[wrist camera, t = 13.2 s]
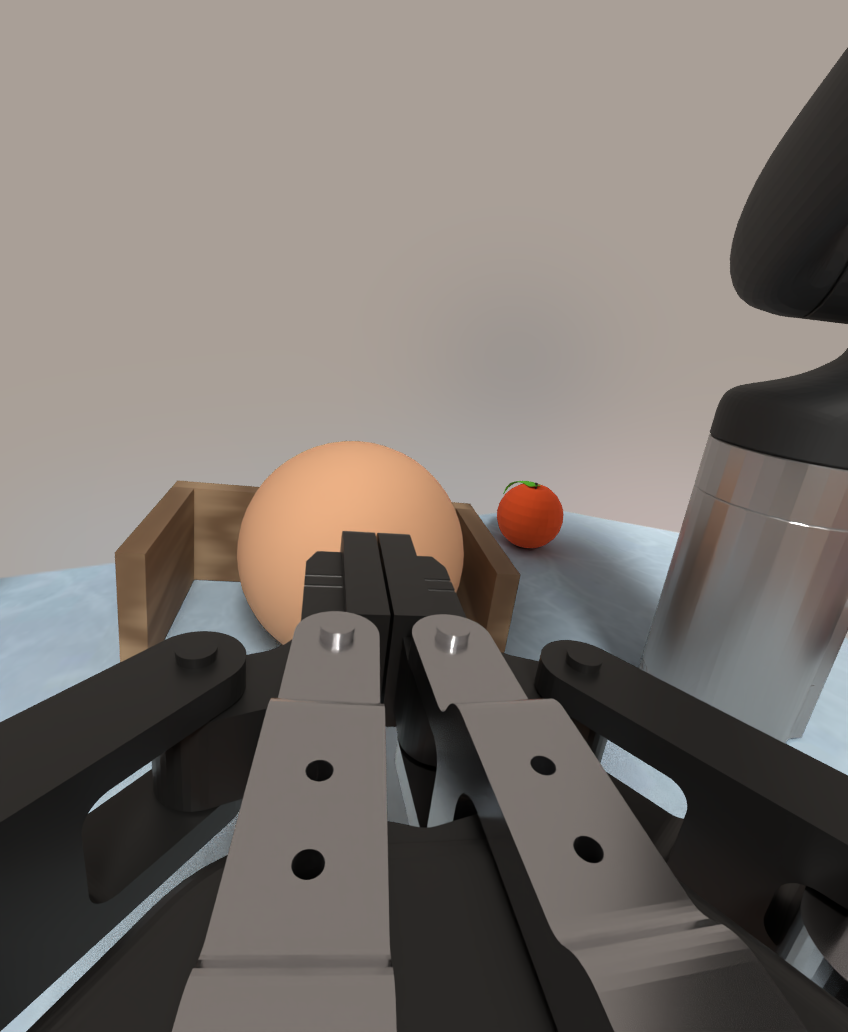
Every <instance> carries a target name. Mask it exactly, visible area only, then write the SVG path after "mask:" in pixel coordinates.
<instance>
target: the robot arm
mask: <svg viewBox="0 0 848 1032" xmlns="http://www.w3.org/2000/svg"><path fill="white" fill-rule="evenodd" d="M730 274H731V278H732V283H733V286H734V288H735V290H736V292H737V294H738V295H739V297H740V298H741V299H742V300H744V301H745V302H746V303H747V304H748V305H750V306H752V307H754V308H757V309H760V310H763V311H766V312H769V313H772V314H776V315H779V316H785V317H794V318H802V319H811V320H820V321H827V322H835V323H844V324H848V48H847V49H846V50H845V52H844V53H843V55H842V56H841V57H840V59H839V60H838V61H837V63H836V64H835V65H834V67H833V68H832V69H831V71H830V72H829V74H828V75H827V76H826V78H825V79H824V80H823V82H822V83H821V85H820V86H819V87H818V89H817V90H816V91H815V93H814V94H813V96H812V97H811V98H810V100H809V101H808V102H807V104H806V105H805V106H804V108H803V109H802V111H801V112H800V113H799V115H798V116H797V118H796V119H795V121H794V122H793V124H792V125H791V126H790V128H789V129H788V131H787V132H786V134H785V135H784V137H783V138H782V140H781V141H780V142H779V144H778V145H777V147H776V149H775V150H774V151H773V153H772V155H771V156H770V158H769V160H768V161H767V163H766V165H765V167H764V169H763V170H762V172H761V174H760V175H759V177H758V179H757V181H756V183H755V185H754V187H753V189H752V191H751V193H750V195H749V197H748V199H747V202H746V204H745V206H744V209H743V211H742V214H741V217H740V219H739V221H738V224H737V228H736V231H735V234H734V238H733V242H732V248H731V255H730ZM710 433H711V434H710V435H709V437H708V441H707V444H706V447H705V451H704V454H703V457H702V461H701V464H700V467H699V471H698V474H697V477H696V480H695V485H694V488H693V491H692V494H691V497H690V501H689V504H688V507H687V511H686V514H685V517H684V520H683V524H682V527H681V531H680V534H679V537H678V540H677V543H676V547H675V550H674V553H673V557H672V560H671V563H670V566H669V570H668V573H667V576H666V580H665V583H664V586H663V589H662V593H661V596H660V599H659V603H658V606H657V609H656V613H655V616H654V619H653V622H652V626H651V629H650V632H649V635H648V639H647V642H646V645H645V649H644V652H643V655H642V659H641V662H640V665H639V668H637V667H635V666H633V665H631V664H629V663H627V662H625V661H623V660H621V659H620V658H618V657H616V656H614V655H612V654H610V653H608V652H606V651H604V650H602V649H600V648H598V647H595V646H593V645H590V644H587V643H583V642H579V641H572V640H559V641H554V642H551V643H549V644H547V645H546V646H544V647H543V649H542V651H541V655H540V659H539V661H534V660H530V659H525V658H520V657H516V656H512V655H508V654H505V653H502V652H500V650H499V649H498V647H497V645H496V644H495V642H494V640H493V639H492V637H491V635H490V634H489V632H488V631H487V630H486V629H485V628H484V627H482V626H481V625H480V624H478V623H476V622H474V621H472V620H470V619H467V618H466V616H465V613H464V611H463V608H462V606H461V604H460V601H459V599H458V596H457V594H456V592H455V589H454V587H453V584H452V582H450V580H451V579H450V577H449V575H448V572H447V570H446V567H444V566H443V565H442V564H441V563H439V562H438V561H437V560H436V559H434V558H433V557H432V556H417V554H416V551H415V548H414V545H413V542H412V539H411V536H410V534H393V533H377V535H376V534H375V533H374V532H356V531H342V536H341V547H340V552H327V551H317V552H316V553H314V554H313V555H312V556H311V557H310V558H309V559H308V560H307V561H306V569H305V580H304V591H303V602H302V613H301V622H299V624H298V625H297V626H296V628H295V631H294V635H293V639H291V640H290V641H289V642H287V643H286V644H284V645H282V646H280V647H278V648H275V649H272V650H269V651H265V652H260V653H255V654H249V655H246V650H245V648H244V646H243V645H242V643H241V642H239V641H238V640H237V639H235V638H234V637H231V636H229V635H226V634H223V633H218V632H208V631H200V632H190V633H185V634H180V635H177V636H174V637H171V638H169V639H166V640H164V641H162V642H160V643H158V644H156V645H154V646H152V647H150V648H148V649H146V650H144V651H142V652H140V653H138V654H136V655H134V656H132V657H130V658H128V659H126V660H124V661H122V662H120V663H118V664H116V665H114V666H112V667H110V668H108V669H106V670H104V671H102V672H100V673H98V674H96V675H94V676H92V677H90V678H88V679H86V680H84V681H82V682H80V683H78V684H76V685H74V686H72V687H70V688H68V689H66V690H64V691H62V692H60V693H58V694H56V695H54V696H52V697H50V698H48V699H46V700H44V701H42V702H40V703H38V704H36V705H34V706H32V707H30V708H28V709H26V710H24V711H22V712H20V713H18V714H16V715H14V716H12V717H10V718H8V719H6V720H4V721H2V722H0V1031H1V1030H2V1029H4V1028H5V1027H6V1026H7V1025H8V1024H9V1023H10V1022H11V1021H12V1020H13V1019H14V1018H16V1017H17V1016H18V1015H19V1014H20V1013H21V1012H22V1011H23V1010H24V1009H25V1008H27V1007H28V1006H29V1005H30V1004H31V1003H32V1002H33V1001H34V1000H35V999H36V998H38V997H39V996H40V995H41V994H42V993H43V992H44V991H45V990H46V989H47V988H48V987H50V986H51V985H52V984H53V983H54V982H55V981H56V980H57V979H58V978H59V977H61V976H62V975H63V974H64V973H65V972H66V971H67V970H68V969H69V968H70V967H71V966H73V965H74V964H75V963H76V962H77V961H78V960H79V959H80V958H81V957H82V956H84V955H85V954H86V953H87V952H88V951H89V950H90V949H91V948H92V947H93V946H95V945H96V944H97V943H98V942H99V941H100V940H101V939H102V938H103V937H104V936H105V935H107V934H108V933H109V932H110V931H111V930H112V929H113V928H114V927H115V926H116V925H118V924H119V923H120V922H121V921H122V920H123V919H124V918H125V917H126V916H127V915H129V914H130V913H131V912H132V911H133V910H134V909H135V908H136V907H137V906H138V905H139V904H141V903H142V902H143V901H144V900H145V899H146V898H147V897H148V896H149V895H150V894H152V893H153V892H154V891H155V890H156V889H157V888H158V887H159V886H160V885H161V884H163V883H164V882H165V881H166V880H167V879H168V878H169V877H170V876H171V875H172V874H173V873H175V872H176V871H177V870H178V869H179V868H180V867H181V866H182V865H183V864H184V863H186V862H187V861H188V860H189V859H190V858H191V857H192V856H193V855H194V854H195V853H196V852H198V851H199V850H200V849H201V848H202V847H203V846H204V845H205V844H206V843H207V842H209V841H210V840H211V839H212V838H213V837H214V836H215V835H216V834H217V833H218V832H220V831H221V830H222V829H223V828H224V827H225V826H226V825H227V824H228V823H229V822H230V821H231V820H232V819H233V818H234V817H235V816H236V815H237V813H238V812H239V810H240V812H239V815H238V819H237V823H236V827H235V830H234V834H233V838H232V842H231V845H230V849H229V853H228V855H227V856H224V857H222V858H220V859H219V860H217V861H215V862H213V863H211V864H209V865H207V866H205V867H203V868H202V869H200V870H199V871H197V872H196V873H194V874H193V875H191V876H190V877H188V878H187V879H185V880H184V881H182V882H181V883H180V884H179V885H177V886H176V887H175V888H174V889H172V890H171V891H170V892H169V893H167V894H166V895H165V896H164V897H163V898H162V899H161V900H160V901H158V902H157V903H156V904H155V905H154V906H153V907H152V908H151V909H150V910H149V911H148V912H147V913H146V914H145V915H144V916H143V917H142V918H141V919H140V920H139V921H138V922H137V923H136V924H135V925H134V926H133V927H132V928H131V929H130V930H129V931H128V932H127V933H126V934H125V935H124V936H123V937H122V938H121V939H120V940H119V941H118V942H117V943H116V944H115V945H114V946H113V947H112V948H110V949H109V950H108V951H107V952H106V953H105V954H104V955H103V956H102V957H101V958H100V959H99V960H98V961H97V962H96V963H95V964H94V965H93V966H92V967H91V968H90V969H89V970H88V971H87V972H86V973H85V974H84V975H83V976H82V977H81V978H80V979H79V980H78V981H77V982H76V983H75V984H74V985H73V986H72V987H71V988H70V989H69V990H68V991H67V992H66V993H65V994H64V995H63V996H62V997H61V998H60V999H59V1000H58V1001H57V1002H56V1003H55V1004H54V1005H53V1006H52V1007H51V1008H50V1009H49V1010H48V1011H47V1012H46V1013H45V1014H44V1015H43V1016H42V1017H41V1018H40V1019H39V1020H37V1021H36V1022H35V1023H34V1024H33V1025H32V1026H31V1027H30V1028H29V1029H28V1030H27V1031H26V1032H848V775H846V774H844V773H842V772H840V771H838V770H836V769H834V768H832V767H830V766H828V765H826V764H824V763H822V762H820V761H818V760H816V759H814V758H812V757H811V756H809V755H807V754H805V753H803V752H801V751H799V750H797V749H795V748H793V747H791V746H789V745H787V744H786V742H787V741H788V739H791V738H802V735H803V733H804V731H805V728H806V726H807V724H808V721H809V719H810V717H811V714H812V712H813V710H814V707H815V705H816V703H817V701H818V698H819V696H820V694H821V691H822V689H823V687H824V684H825V682H826V680H827V677H828V675H829V673H830V671H831V668H832V666H833V664H834V661H835V659H836V657H837V654H838V652H839V650H840V647H841V645H842V643H843V640H844V638H845V636H846V634H847V631H848V348H847V350H846V351H845V352H844V353H843V354H842V355H841V356H840V357H838V358H837V359H835V360H833V361H832V362H830V363H827V364H825V365H823V366H821V367H819V368H816V369H814V370H811V371H808V372H805V373H802V374H799V375H795V376H791V377H787V378H782V379H777V380H771V381H764V382H758V383H751V384H745V385H740V386H737V387H734V388H732V389H730V390H728V391H727V392H726V393H725V394H724V395H723V397H722V399H721V400H720V402H719V405H718V407H717V410H716V413H715V417H714V420H713V423H712V427H711V430H710ZM385 727H397V733H398V738H397V745H396V753H395V765H396V770H397V774H398V778H399V783H400V787H401V791H402V796H403V800H404V804H405V808H406V813H407V817H408V821H409V825H405V824H400V823H395V822H389V821H387V786H386V735H385ZM607 739H608V740H609V741H611V742H613V743H614V744H616V745H618V746H619V747H621V748H622V749H624V750H626V751H627V752H629V753H631V754H632V755H634V756H635V757H637V758H639V759H640V760H642V761H644V762H645V763H647V764H648V765H650V766H652V767H653V768H655V769H657V770H658V771H660V772H661V773H663V774H665V775H666V776H668V777H669V778H671V779H672V780H673V781H674V782H675V783H676V784H677V785H678V786H679V787H680V788H681V790H682V791H683V793H684V795H685V797H686V800H687V812H686V815H685V818H684V819H682V818H678V817H675V816H673V815H671V814H670V813H668V812H667V811H665V810H664V809H662V808H661V807H659V806H658V805H656V804H654V803H653V802H651V801H650V800H648V799H647V798H645V797H644V796H642V795H641V794H639V793H638V792H636V791H635V790H633V789H632V788H630V787H628V786H627V785H625V784H624V783H622V782H621V781H619V780H618V779H616V778H615V777H613V776H612V775H610V774H609V773H607V772H606V771H605V770H604V769H603V767H602V766H601V764H600V763H601V759H602V756H603V753H604V749H605V746H606V743H607ZM151 761H152V769H151V770H150V771H148V772H147V773H145V774H144V775H143V776H141V777H140V778H138V779H137V780H136V781H134V782H133V783H131V784H130V785H128V786H127V787H126V788H124V789H123V790H121V791H120V792H119V793H117V794H116V795H114V796H113V797H111V798H110V799H109V800H107V801H106V802H104V803H103V804H101V805H100V806H99V807H97V808H96V809H94V810H93V811H92V812H90V813H89V811H90V809H91V808H92V807H93V805H94V804H95V803H96V802H97V801H98V800H99V798H101V797H102V796H103V795H104V794H105V793H106V792H107V791H109V790H110V789H112V788H113V787H114V786H116V785H117V784H119V783H120V782H122V781H123V780H125V779H126V778H128V777H129V776H130V775H132V774H133V773H135V772H136V771H138V770H139V769H141V768H142V767H143V766H145V765H146V764H148V763H149V762H151ZM88 813H89V814H88Z"/></svg>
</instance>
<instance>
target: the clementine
mask: <svg viewBox="0 0 848 1032" xmlns="http://www.w3.org/2000/svg"><path fill="white" fill-rule="evenodd" d="M517 482H521V483H523V484H520V485H518V486H516V487H514V488H512V489H511V490H510V491H508V492H507V493H506V494H505V496H504V497H503V498H502V500H501V502H500V503H499V507H498V510H497V520H498V524H499V528H500V530H501V532H502V534H503V535H504V536H505V537H506V538H507V539H508V540H509V541H510V542H511V543H513V544H515V545H517V546H519V547H523V548H538V547H541V546H544V545H546V544H547V543H549V542H550V541H551V540H553V539H554V538H555V537H556V535H557V534H558V533H559V531H560V528H561V526H562V523H563V509H562V505H561V503H560V501H559V499H558V497H557V496H556V495H555V494H554V493H553V492H552V491H551V490H550V489H549V488H547V487H545V486H543V485H539V484H538V483H534V482H529V481H516V482H512V483H510V484H509V485H508V486H507V487H506V489H505V491H506V490H507V489H508V487H510V486H511V485H513V484H514V483H517ZM505 491H504V493H505Z"/></svg>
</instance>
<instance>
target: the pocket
mask: <svg viewBox="0 0 848 1032" xmlns="http://www.w3.org/2000/svg"><path fill="white" fill-rule="evenodd" d="M258 489H259V487H252V486H239V485H226V484H214V483H213V484H212V483H201V482H188V481H177V482H176V483H175V484H174V485H173V486H172V488H171V489H170V490H169V491H168V492H167V493H166V494H165V496H164V497H163V498H162V499H161V500H160V501H159V503H158V504H157V505H156V506H155V507H154V508H153V509H152V511H151V512H150V513H149V514H148V515H147V516H146V518H145V519H144V520H143V521H142V522H141V523H140V524H139V525H138V527H137V528H136V529H135V530H134V531H133V532H132V534H131V535H130V536H129V537H128V538H127V539H126V540H125V542H124V543H123V544H122V545H121V546H120V547H119V548H118V550H117V551H116V552H115V566H116V586H117V605H118V625H119V645H120V662H122V661H124V660H126V659H128V658H130V657H132V656H134V655H136V654H138V653H140V652H142V651H144V650H146V649H148V648H150V647H152V646H154V645H156V644H158V643H160V642H162V641H164V639H165V637H166V635H167V633H168V631H169V629H170V627H171V625H172V623H173V621H174V619H175V617H176V615H177V613H178V611H179V609H180V607H181V605H182V603H183V601H184V599H185V597H186V595H187V593H188V591H189V589H190V587H191V585H192V583H193V581H194V580H215V581H236V582H240V577H239V572H238V562H237V546H238V538H239V533H240V528H241V523H242V520H243V518H244V515H245V512H246V509H247V508H248V506H249V504H250V502H251V500H252V498H253V497H254V495H255V493H256V491H257V490H258ZM452 504H453V506H454V509H455V511H456V514H457V517H458V519H459V522H460V527H461V531H462V537H463V550H464V558H463V569H462V574H461V578H460V583H459V587H458V589H457V592H456V594H457V596H458V599H459V601H460V604H461V606H462V608H463V611H464V613H465V616H466V618H467V619H470V620H472V621H474V622H476V623H478V624H480V625H481V626H482V627H484V628H485V629H486V630H487V631H488V632H489V634H490V635H491V637H492V639H493V640H494V642H495V644H496V645H497V647H498V649H499V650H500V652H502V653H504V651H505V646H506V642H507V637H508V632H509V627H510V622H511V618H512V613H513V608H514V603H515V598H516V594H517V589H518V584H519V579H520V574H519V572H518V571H517V569H516V568H515V567H514V565H513V564H512V562H511V561H510V560H509V558H508V557H507V555H506V554H505V552H504V551H503V550H502V548H501V547H500V545H499V544H498V543H497V541H496V540H495V538H494V537H493V536H492V534H491V533H490V531H489V530H488V529H487V527H486V526H485V524H484V523H483V522H482V520H481V519H480V517H479V516H478V514H477V513H476V512H475V510H474V509H473V507H472V506H471V505H470V504H467V503H455V502H454V503H453V502H452Z"/></svg>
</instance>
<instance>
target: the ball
mask: <svg viewBox="0 0 848 1032" xmlns="http://www.w3.org/2000/svg"><path fill="white" fill-rule="evenodd" d="M342 531H356V532H374V533H375V534H376V535H377V533H393V534H410V536H411V539H412V542H413V545H414V548H415V551H416V554H417V556H432V557H433V558H434V559H436V560H437V561H438V562H439V563H441V564H442V565H443V566H444V567H446V570H447V572H448V575H449V577H450V579H451V580H450V582H452V584H453V587H454V589H455V592H457V589H458V587H459V583H460V578H461V574H462V569H463V558H464V550H463V537H462V531H461V527H460V522H459V519H458V517H457V514H456V511H455V509H454V506H453V504H452V502H451V500H450V499H449V497H448V495H447V493H446V492H445V490H444V489H443V488H442V486H441V485H440V484H439V482H438V481H437V480H436V479H435V478H434V477H433V476H432V475H431V474H430V473H429V472H428V471H427V470H426V469H425V468H424V467H423V466H421V465H420V464H419V463H417V462H416V461H415V460H413V459H412V458H410V457H408V456H406V455H405V454H403V453H401V452H398V451H396V450H393V449H391V448H388V447H386V446H382V445H378V444H374V443H368V442H360V441H342V442H335V443H328V444H324V445H321V446H317V447H314V448H312V449H309V450H306V451H304V452H302V453H300V454H298V455H296V456H295V457H293V458H291V459H289V460H288V461H286V462H285V463H284V464H282V465H281V466H280V467H278V468H277V469H276V470H275V471H274V472H273V473H272V474H271V475H270V476H269V477H268V478H267V479H266V480H265V481H264V482H263V483H262V485H261V486H260V487H259V489H258V490H257V491H256V493H255V495H254V497H253V498H252V500H251V502H250V504H249V506H248V508H247V509H246V512H245V515H244V518H243V520H242V523H241V528H240V533H239V538H238V546H237V562H238V572H239V577H240V582H241V586H242V590H243V592H244V594H245V597H246V599H247V602H248V604H249V606H250V608H251V609H252V611H253V613H254V614H255V616H256V618H257V619H258V621H259V622H260V623H261V624H262V625H263V627H264V628H265V629H266V630H267V631H268V632H269V633H270V634H271V635H272V636H273V637H274V638H275V639H276V640H278V641H279V642H280V643H281V644H283V645H284V644H286V643H287V642H289V641H290V640H291V639H293V635H294V631H295V628H296V626H297V625H298V624H299V622H301V613H302V602H303V591H304V580H305V569H306V561H307V560H308V559H309V558H310V557H311V556H312V555H313V554H314V553H316V552H317V551H327V552H340V547H341V536H342Z"/></svg>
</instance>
